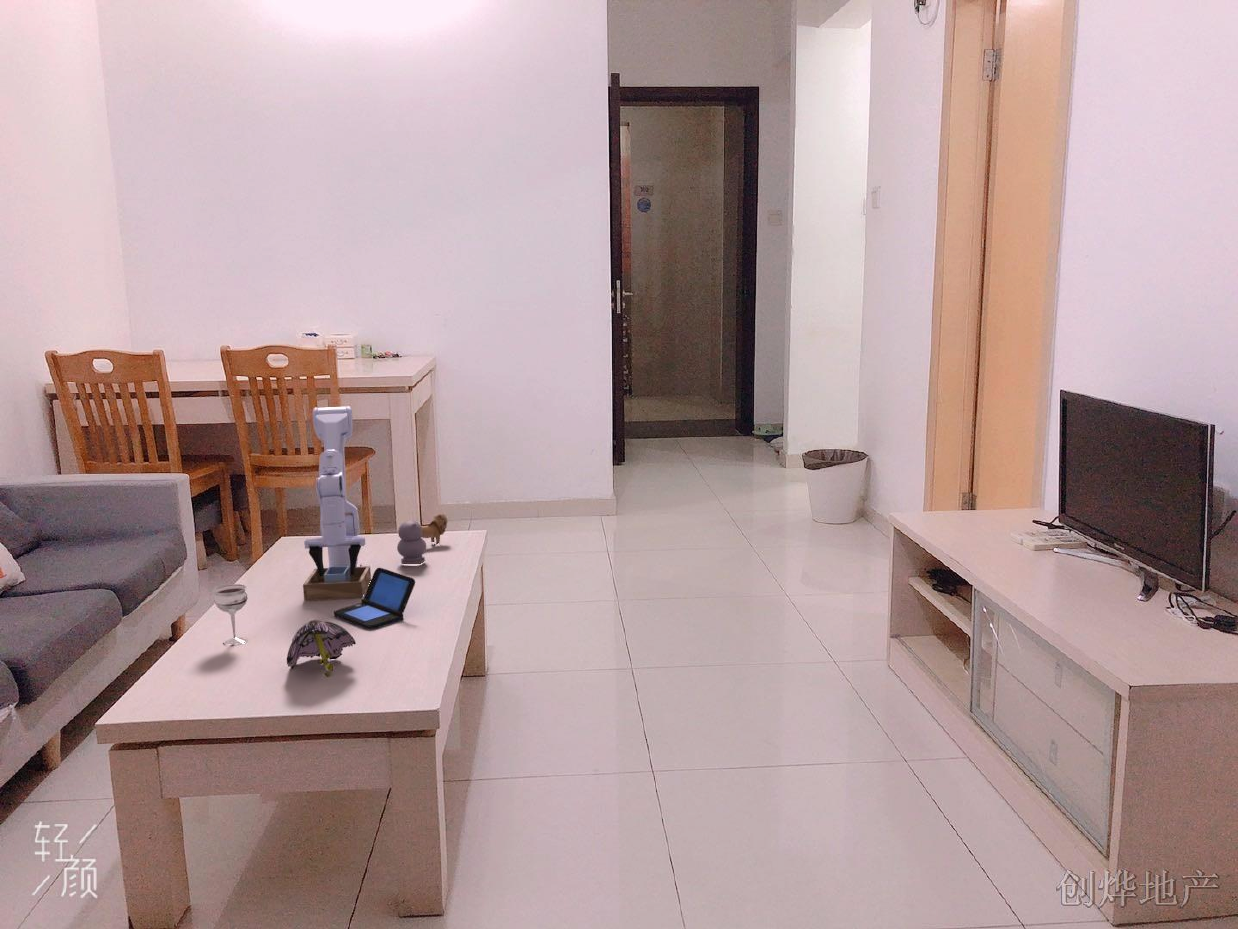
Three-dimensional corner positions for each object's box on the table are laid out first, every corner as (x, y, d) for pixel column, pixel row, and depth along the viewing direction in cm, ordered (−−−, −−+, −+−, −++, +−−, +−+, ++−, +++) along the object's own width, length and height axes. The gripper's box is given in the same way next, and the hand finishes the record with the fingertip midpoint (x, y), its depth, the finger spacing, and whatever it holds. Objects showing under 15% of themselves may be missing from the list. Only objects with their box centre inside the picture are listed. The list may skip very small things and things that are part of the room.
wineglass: (218, 639, 224) (213, 586, 222) (251, 634, 227) (246, 582, 224) (218, 649, 218) (213, 595, 216) (252, 644, 220) (247, 591, 218)
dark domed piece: (352, 607, 213) (338, 609, 198) (370, 660, 212) (356, 667, 197) (284, 630, 212) (265, 635, 197) (302, 684, 211) (283, 692, 196)
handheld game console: (331, 617, 238) (328, 579, 236) (379, 603, 247) (377, 566, 246) (370, 632, 227) (367, 592, 226) (419, 616, 237) (416, 578, 235)
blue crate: (330, 583, 260) (329, 566, 259) (350, 583, 260) (349, 566, 259) (325, 592, 253) (323, 574, 252) (345, 591, 253) (344, 574, 253)
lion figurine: (442, 540, 303) (441, 511, 301) (452, 544, 299) (451, 514, 297) (399, 550, 293) (397, 520, 292) (408, 554, 289) (406, 523, 288)
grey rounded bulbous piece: (396, 560, 283) (394, 518, 280) (425, 557, 285) (422, 516, 283) (399, 569, 275) (397, 525, 272) (429, 565, 277) (426, 523, 275)
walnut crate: (316, 583, 263) (314, 568, 262) (371, 581, 264) (370, 566, 264) (304, 600, 249) (302, 584, 249) (362, 597, 251) (361, 582, 250)
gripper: (300, 527, 249) (304, 580, 252) (360, 524, 250) (364, 577, 253) (306, 520, 256) (310, 572, 259) (364, 517, 257) (368, 569, 260)
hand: (337, 574), depth 256 cm, fingers open, 7 cm apart
